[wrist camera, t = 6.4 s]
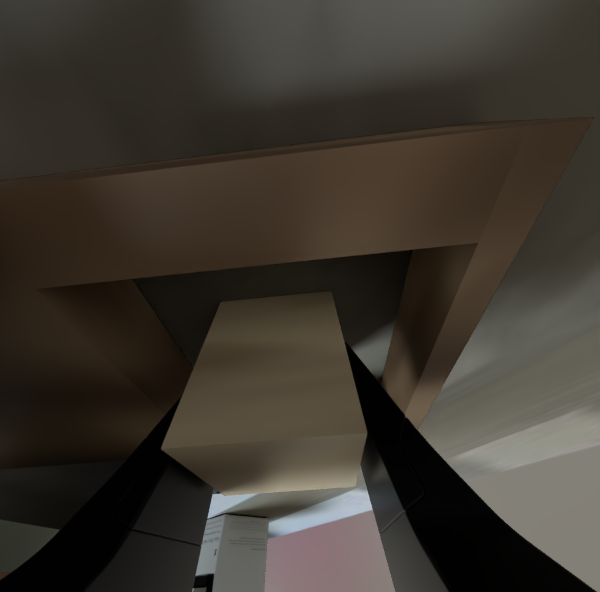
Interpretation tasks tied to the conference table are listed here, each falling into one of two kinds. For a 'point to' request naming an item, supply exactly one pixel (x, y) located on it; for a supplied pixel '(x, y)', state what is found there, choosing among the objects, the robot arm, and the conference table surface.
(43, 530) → the sliding cover
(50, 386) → the wooden box
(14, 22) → the conference table surface
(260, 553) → the supplement box
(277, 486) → the beech block
